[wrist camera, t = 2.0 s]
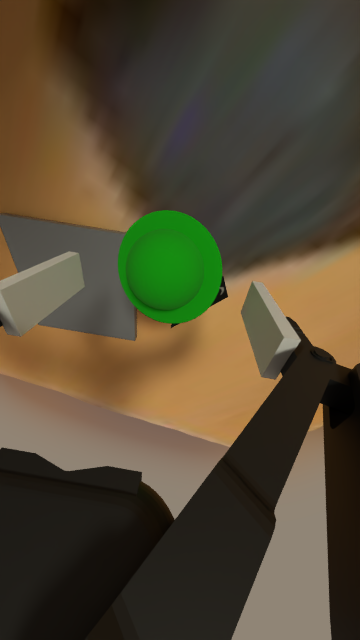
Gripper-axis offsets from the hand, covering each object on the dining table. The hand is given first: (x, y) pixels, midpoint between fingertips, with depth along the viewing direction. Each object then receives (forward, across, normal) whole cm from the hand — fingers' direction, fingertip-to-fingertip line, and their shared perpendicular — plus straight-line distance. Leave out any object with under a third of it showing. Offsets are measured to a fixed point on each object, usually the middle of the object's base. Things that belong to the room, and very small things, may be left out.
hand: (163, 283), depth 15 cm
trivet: (+13, -15, -8) cm, 22 cm away
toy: (+13, 0, +1) cm, 13 cm away
